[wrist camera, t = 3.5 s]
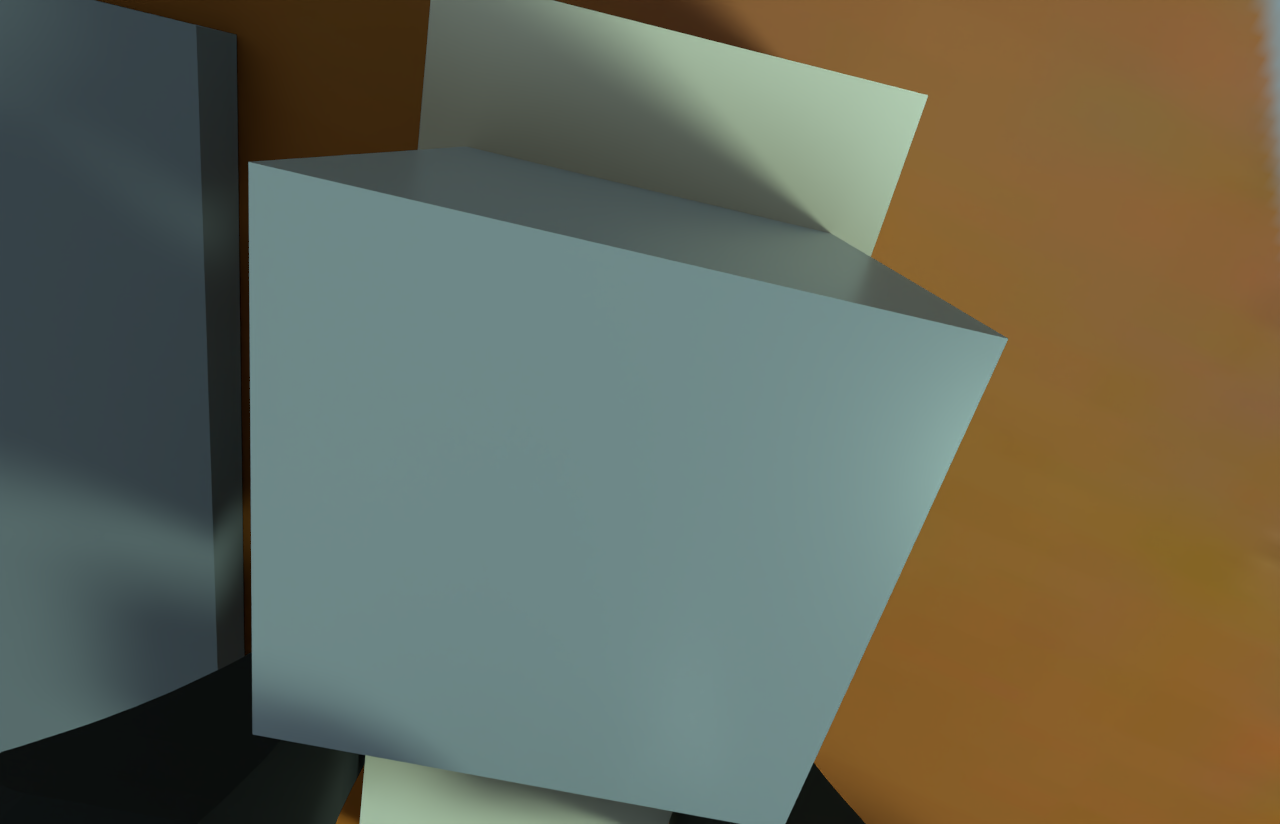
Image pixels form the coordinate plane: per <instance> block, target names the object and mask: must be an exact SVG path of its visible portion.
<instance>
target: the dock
mask: <svg viewBox="0 0 1280 824" xmlns="http://www.w3.org/2000/svg"><path fill="white" fill-rule="evenodd" d="M242 657H244V590H243V511H242V432H241V353H240V274H239V195H238V116H237V37H236V34H232V33H227V32H223V31H219V30H215V29H211V28H207V27H203V26H199V25H195V24H191V23H186V22H182V21H178V20H174V19H170V18H166V17H162V16H158V15H154V14H149V13H145V12H141V11H137V10H133V9H129V8H125V7H121V6H117V5H113V4H108V3H104V2H100V1H96V0H0V753H1V752H3V751H6V750H10V749H13V748H16V747H20V746H23V745H26V744H29V743H32V742H35V741H38V740H41V739H44V738H47V737H51V736H54V735H57V734H60V733H63V732H66V731H69V730H72V729H75V728H78V727H81V726H84V725H87V724H90V723H93V722H96V721H98V720H101V719H104V718H107V717H109V716H112V715H115V714H117V713H120V712H122V711H125V710H128V709H130V708H133V707H136V706H138V705H140V704H143V703H145V702H148V701H150V700H153V699H155V698H158V697H160V696H162V695H165V694H167V693H169V692H172V691H174V690H176V689H178V688H180V687H183V686H185V685H187V684H189V683H191V682H193V681H195V680H198V679H200V678H202V677H204V676H206V675H208V674H210V673H212V672H215V671H217V670H219V669H221V668H223V667H225V666H227V665H229V664H231V663H233V662H235V661H236V660H238V659H240V658H242Z"/></svg>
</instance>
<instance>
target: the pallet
mask: <svg viewBox="0 0 1280 824" xmlns="http://www.w3.org/2000/svg"><path fill="white" fill-rule="evenodd" d="M927 97H928V95H924V94H920V93H917V92H913V91H909V90H905V89H901V88H897V87H893V86H889V85H885V84H881V83H877V82H873V81H869V80H865V79H861V78H857V77H853V76H849V75H846V74H842V73H838V72H834V71H830V70H826V69H822V68H818V67H814V66H810V65H806V64H802V63H798V62H794V61H790V60H786V59H782V58H778V57H775V56H771V55H767V54H763V53H759V52H755V51H751V50H747V49H743V48H739V47H735V46H731V45H727V44H723V43H719V42H715V41H711V40H707V39H703V38H700V37H696V36H692V35H688V34H684V33H680V32H676V31H672V30H668V29H664V28H660V27H656V26H652V25H648V24H644V23H640V22H636V21H632V20H629V19H625V18H621V17H617V16H613V15H609V14H605V13H601V12H597V11H593V10H589V9H585V8H581V7H577V6H573V5H569V4H565V3H561V2H557V1H554V0H431V2H430V14H429V25H428V37H427V49H426V60H425V72H424V83H423V95H422V107H421V118H420V130H419V141H418V150H423V149H438V148H452V147H471V148H475V149H479V150H483V151H487V152H492V153H496V154H500V155H504V156H508V157H513V158H517V159H521V160H525V161H529V162H534V163H538V164H542V165H546V166H550V167H554V168H559V169H563V170H567V171H571V172H575V173H580V174H584V175H588V176H592V177H596V178H601V179H605V180H609V181H613V182H617V183H622V184H626V185H630V186H634V187H638V188H642V189H647V190H651V191H655V192H659V193H663V194H668V195H672V196H676V197H680V198H684V199H689V200H693V201H697V202H701V203H705V204H710V205H714V206H718V207H722V208H726V209H731V210H735V211H739V212H743V213H747V214H751V215H756V216H760V217H764V218H768V219H772V220H777V221H781V222H785V223H789V224H793V225H798V226H802V227H806V228H810V229H814V230H819V231H823V232H827V233H831V234H833V235H835V236H836V237H838V238H840V239H841V240H843V241H845V242H846V243H848V244H850V245H851V246H853V247H855V248H856V249H858V250H860V251H861V252H863V253H865V254H866V255H868V256H870V257H871V254H872V251H873V249H874V246H875V243H876V240H877V237H878V235H879V232H880V229H881V226H882V223H883V221H884V218H885V215H886V212H887V209H888V207H889V204H890V201H891V198H892V195H893V193H894V190H895V187H896V184H897V181H898V179H899V176H900V173H901V170H902V167H903V165H904V162H905V159H906V156H907V153H908V151H909V148H910V145H911V142H912V139H913V137H914V134H915V131H916V128H917V125H918V123H919V120H920V117H921V114H922V111H923V108H924V106H925V103H926V100H927ZM672 812H673V811H667V810H662V809H657V808H651V807H646V806H640V805H635V804H629V803H624V802H618V801H613V800H607V799H602V798H597V797H591V796H586V795H580V794H575V793H569V792H564V791H558V790H553V789H547V788H542V787H537V786H531V785H526V784H520V783H515V782H509V781H504V780H498V779H493V778H487V777H482V776H477V775H471V774H466V773H460V772H455V771H449V770H444V769H438V768H433V767H427V766H422V765H417V764H411V763H406V762H400V761H395V760H389V759H384V758H378V757H373V756H367V755H365V767H364V778H363V790H362V802H361V813H360V824H668V823H669V820H670V817H671V815H672Z"/></svg>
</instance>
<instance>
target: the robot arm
mask: <svg viewBox="0 0 1280 824" xmlns="http://www.w3.org/2000/svg"><path fill="white" fill-rule="evenodd" d="M364 764H365V755H362V754H357V753H351V752H346V751H340V750H335V749H329V748H324V747H318V746H313V745H307V744H302V743H297V742H291V741H286V740H280V739H275V738H269V737H264V736H258V735H253V734H252V652H251V653H249V654H247V655H246V656H244V657H242V658H240V659H238V660H236V661H235V662H233V663H231V664H229V665H227V666H225V667H223V668H221V669H219V670H217V671H215V672H212V673H210V674H208V675H206V676H204V677H202V678H200V679H198V680H195V681H193V682H191V683H189V684H187V685H185V686H183V687H180V688H178V689H176V690H174V691H172V692H169V693H167V694H165V695H162V696H160V697H158V698H155V699H153V700H150V701H148V702H145V703H143V704H140V705H138V706H136V707H133V708H130V709H128V710H125V711H122V712H120V713H117V714H115V715H112V716H109V717H107V718H104V719H101V720H98V721H96V722H93V723H90V724H87V725H84V726H81V727H78V728H75V729H72V730H69V731H66V732H63V733H60V734H57V735H54V736H51V737H47V738H44V739H41V740H38V741H35V742H32V743H29V744H26V745H23V746H20V747H16V748H13V749H10V750H6V751H3V752H1V753H0V824H335V823H336V821H337V819H338V816H339V814H340V812H341V809H342V807H343V805H344V803H345V801H346V799H347V797H348V795H349V793H350V791H351V789H352V787H353V785H354V783H355V781H356V779H357V777H358V775H359V773H360V771H361V769H362V768H363V766H364ZM669 824H738V823H733V822H728V821H722V820H717V819H711V818H706V817H700V816H695V815H689V814H684V813H678V812H672V815H671V817H670V820H669ZM785 824H865V823H864V822H863V820H862V819H861V818H860V817H859V816H858V815H857V814H856V813H855V812H854V810H853V809H852V808H851V807H850V806H849V805H848V804H847V803H846V801H845V800H844V799H843V798H842V797H841V796H840V795H839V794H838V792H837V791H836V790H835V789H834V788H833V786H832V785H831V784H830V783H829V782H828V780H827V779H826V778H825V777H824V776H823V774H822V773H821V772H820V770H819V769H818V768H817V766H816V765H815V764H814V763H813V765H812V767H811V769H810V771H809V773H808V776H807V778H806V780H805V782H804V784H803V786H802V789H801V791H800V793H799V795H798V797H797V800H796V802H795V804H794V806H793V808H792V810H791V813H790V815H789V817H788V819H787V821H786V823H785Z"/></svg>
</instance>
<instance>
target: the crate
mask: <svg viewBox="0 0 1280 824" xmlns="http://www.w3.org/2000/svg"><path fill="white" fill-rule="evenodd" d="M248 169H249V312H250V454H251V598H252V734H253V735H258V736H264V737H269V738H275V739H280V740H286V741H291V742H297V743H302V744H307V745H313V746H318V747H324V748H329V749H335V750H340V751H346V752H351V753H357V754H362V755H367V756H373V757H378V758H384V759H389V760H395V761H400V762H406V763H411V764H417V765H422V766H427V767H433V768H438V769H444V770H449V771H455V772H460V773H466V774H471V775H477V776H482V777H487V778H493V779H498V780H504V781H509V782H515V783H520V784H526V785H531V786H537V787H542V788H547V789H553V790H558V791H564V792H569V793H575V794H580V795H586V796H591V797H597V798H602V799H607V800H613V801H618V802H624V803H629V804H635V805H640V806H646V807H651V808H657V809H662V810H667V811H673V812H678V813H684V814H689V815H695V816H700V817H706V818H711V819H717V820H722V821H728V822H733V823H738V824H785V823H786V821H787V819H788V817H789V815H790V813H791V810H792V808H793V806H794V804H795V802H796V800H797V797H798V795H799V793H800V791H801V789H802V786H803V784H804V782H805V780H806V778H807V776H808V773H809V771H810V769H811V767H812V765H813V763H814V760H815V758H816V756H817V754H818V752H819V749H820V747H821V745H822V743H823V741H824V739H825V736H826V734H827V732H828V730H829V728H830V726H831V723H832V721H833V719H834V717H835V715H836V712H837V710H838V708H839V706H840V704H841V702H842V699H843V697H844V695H845V693H846V691H847V689H848V686H849V684H850V682H851V680H852V678H853V675H854V673H855V671H856V669H857V667H858V665H859V662H860V660H861V658H862V656H863V654H864V652H865V649H866V647H867V645H868V643H869V641H870V638H871V636H872V634H873V632H874V630H875V628H876V625H877V623H878V621H879V619H880V617H881V615H882V612H883V610H884V608H885V606H886V604H887V601H888V599H889V597H890V595H891V593H892V591H893V588H894V586H895V584H896V582H897V580H898V578H899V575H900V573H901V571H902V569H903V567H904V564H905V562H906V560H907V558H908V556H909V554H910V551H911V549H912V547H913V545H914V543H915V541H916V538H917V536H918V534H919V532H920V530H921V527H922V525H923V523H924V521H925V519H926V517H927V514H928V512H929V510H930V508H931V506H932V504H933V501H934V499H935V497H936V495H937V493H938V490H939V488H940V486H941V484H942V482H943V480H944V477H945V475H946V473H947V471H948V469H949V467H950V464H951V462H952V460H953V458H954V456H955V453H956V451H957V449H958V447H959V445H960V443H961V440H962V438H963V436H964V434H965V432H966V430H967V427H968V425H969V423H970V421H971V419H972V416H973V414H974V412H975V410H976V408H977V406H978V403H979V401H980V399H981V397H982V395H983V393H984V390H985V388H986V386H987V384H988V382H989V379H990V377H991V375H992V373H993V371H994V369H995V366H996V364H997V362H998V360H999V358H1000V356H1001V353H1002V351H1003V349H1004V347H1005V345H1006V342H1007V340H1008V338H1006V337H1005V336H1003V335H1001V334H999V333H998V332H996V331H994V330H993V329H991V328H989V327H988V326H986V325H984V324H983V323H981V322H979V321H978V320H976V319H974V318H973V317H971V316H969V315H967V314H966V313H964V312H962V311H961V310H959V309H957V308H956V307H954V306H952V305H951V304H949V303H947V302H946V301H944V300H942V299H941V298H939V297H937V296H935V295H934V294H932V293H930V292H929V291H927V290H925V289H924V288H922V287H920V286H919V285H917V284H915V283H914V282H912V281H910V280H909V279H907V278H905V277H904V276H902V275H900V274H898V273H897V272H895V271H893V270H892V269H890V268H888V267H887V266H885V265H883V264H882V263H880V262H878V261H877V260H875V259H873V258H872V257H870V256H868V255H866V254H865V253H863V252H861V251H860V250H858V249H856V248H855V247H853V246H851V245H850V244H848V243H846V242H845V241H843V240H841V239H840V238H838V237H836V236H835V235H833V234H831V233H827V232H823V231H819V230H814V229H810V228H806V227H802V226H798V225H793V224H789V223H785V222H781V221H777V220H772V219H768V218H764V217H760V216H756V215H751V214H747V213H743V212H739V211H735V210H731V209H726V208H722V207H718V206H714V205H710V204H705V203H701V202H697V201H693V200H689V199H684V198H680V197H676V196H672V195H668V194H663V193H659V192H655V191H651V190H647V189H642V188H638V187H634V186H630V185H626V184H622V183H617V182H613V181H609V180H605V179H601V178H596V177H592V176H588V175H584V174H580V173H575V172H571V171H567V170H563V169H559V168H554V167H550V166H546V165H542V164H538V163H534V162H529V161H525V160H521V159H517V158H513V157H508V156H504V155H500V154H496V153H492V152H487V151H483V150H479V149H475V148H471V147H452V148H438V149H423V150H409V151H395V152H381V153H367V154H352V155H338V156H324V157H310V158H296V159H282V160H267V161H253V162H248Z"/></svg>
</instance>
